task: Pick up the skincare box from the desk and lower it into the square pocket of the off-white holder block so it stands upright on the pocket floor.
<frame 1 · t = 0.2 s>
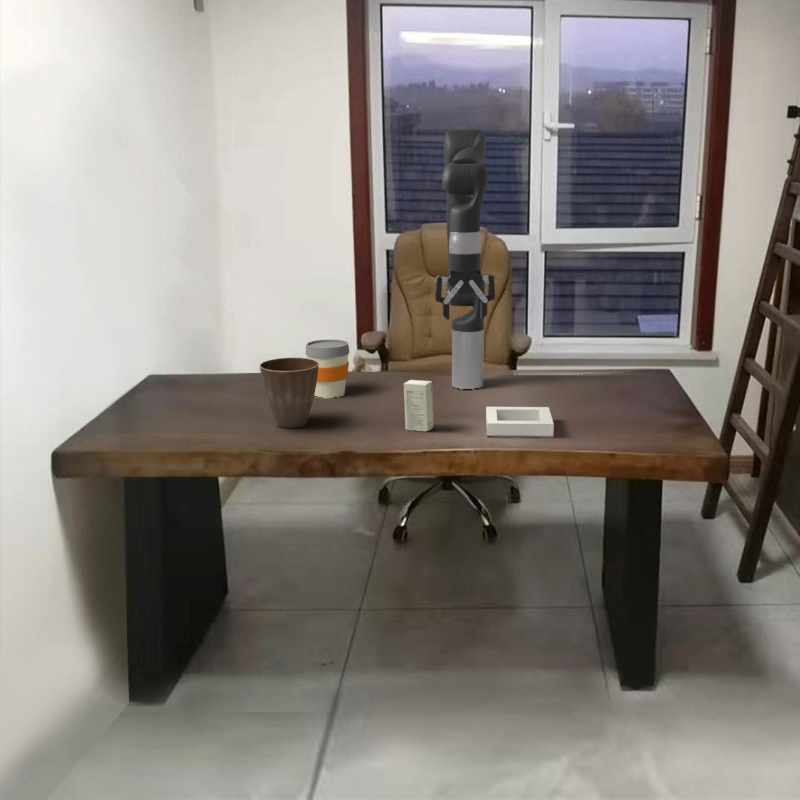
hand: (464, 318, 218), 28 cm above the table, tool pointing down, fingers open, 8 cm apart
reusable coffee cup: (329, 395, 262), on the table
holder: (518, 428, 227), on the table
plant pot: (292, 424, 233), on the table
skincare box: (419, 429, 228), on the table
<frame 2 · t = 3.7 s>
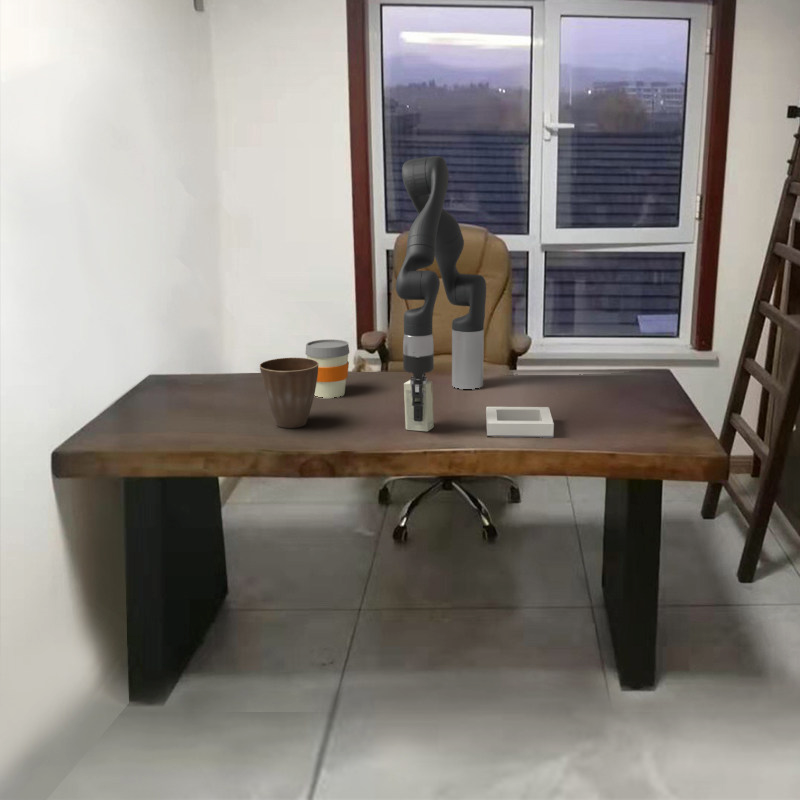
hand: (418, 417, 227), 3 cm above the table, tool pointing down, fingers closed on skincare box, 5 cm apart
skincare box: (419, 429, 228), on the table, touching gripper
everything else where it was.
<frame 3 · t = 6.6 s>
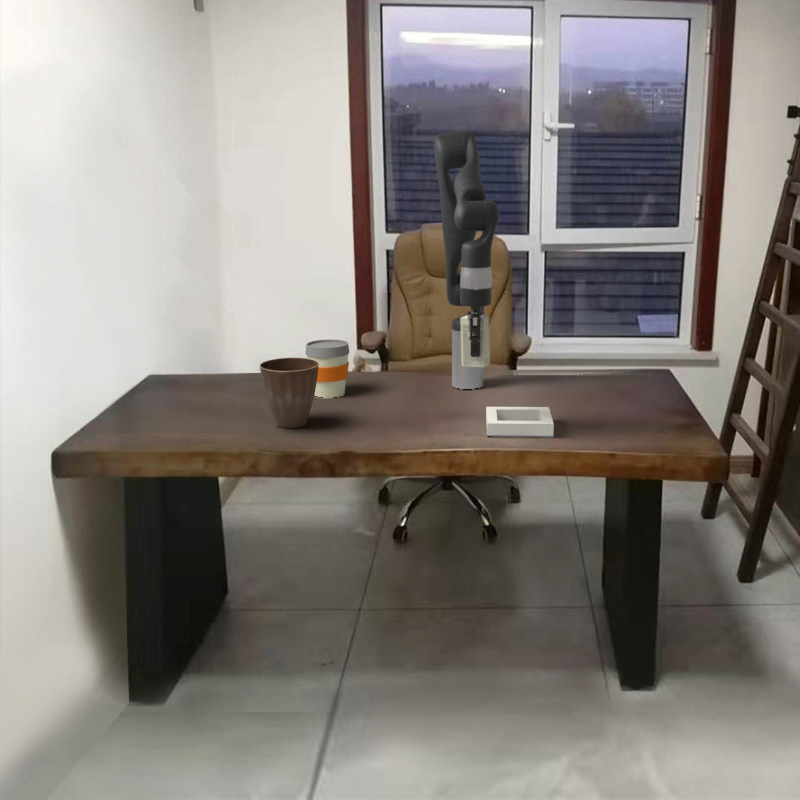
hand: (475, 353, 222), 19 cm above the table, tool pointing down, fingers closed on skincare box, 5 cm apart
skincare box: (475, 366, 223), point 16 cm above the table, touching gripper
everything else where it was.
when the fingers open (5 cm above the table, at t = 9.9 s): skincare box drops 1 cm, resting on holder.
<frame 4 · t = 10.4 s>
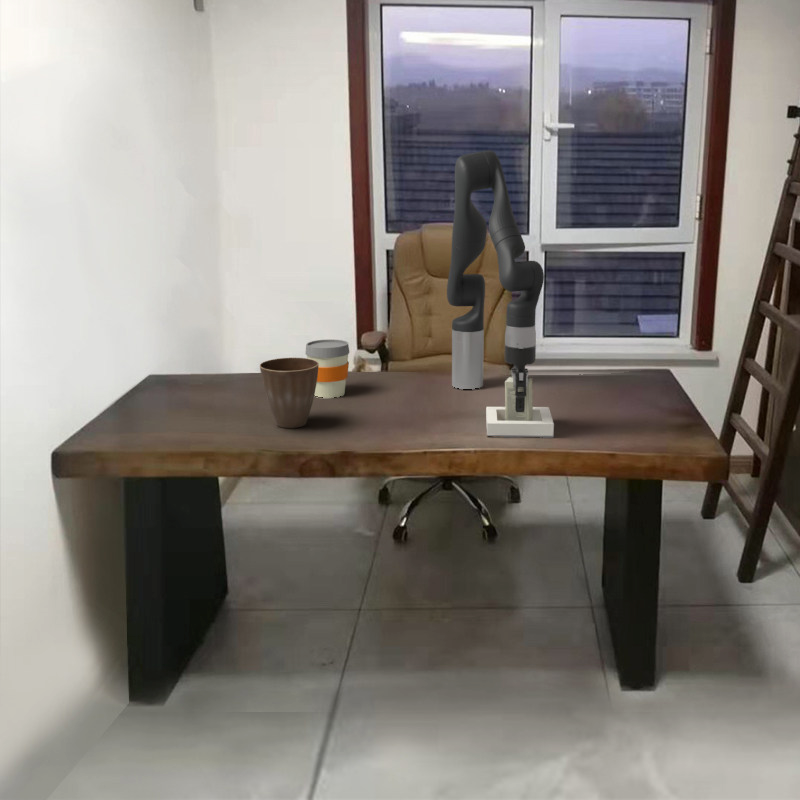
hand: (519, 406, 225), 6 cm above the table, tool pointing down, fingers open, 8 cm apart
skincare box: (518, 427, 227), resting on holder
everything else where it was.
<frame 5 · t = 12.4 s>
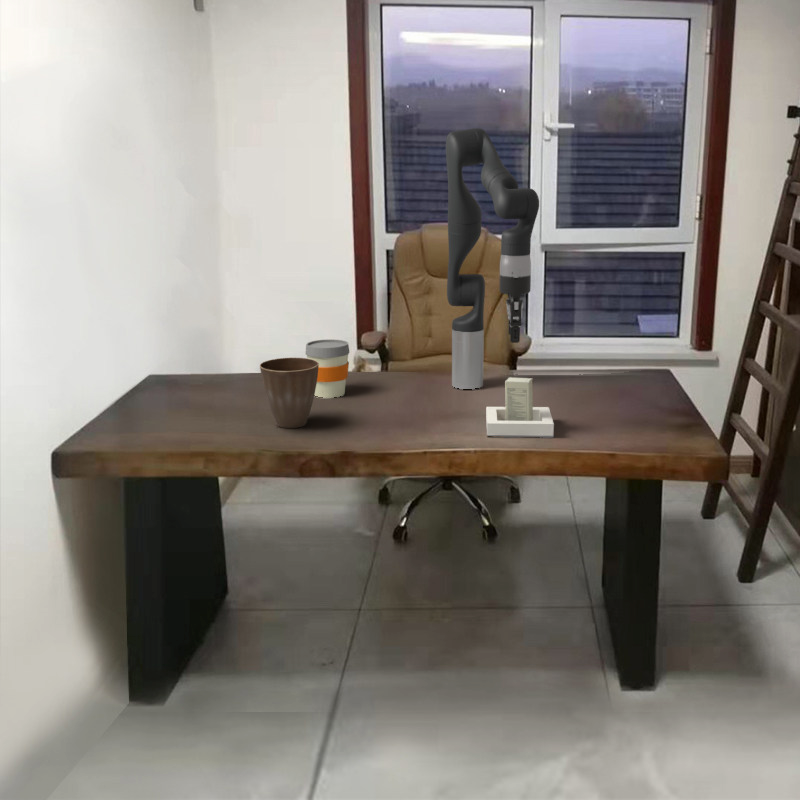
hand: (513, 338, 223), 23 cm above the table, tool pointing down, fingers open, 8 cm apart
nothing on the table moved.
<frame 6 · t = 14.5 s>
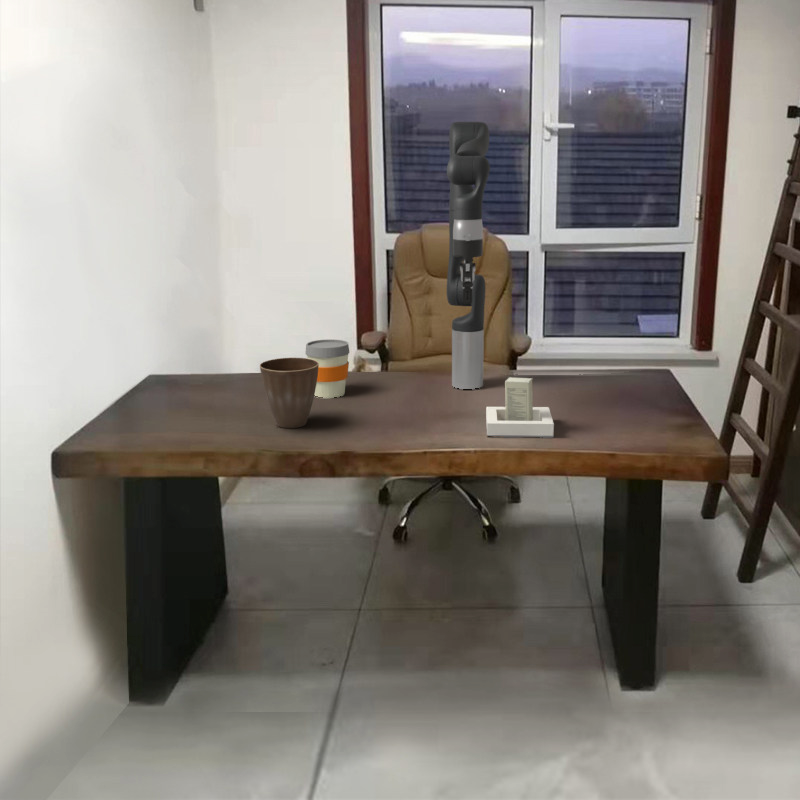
hand: (467, 300, 233), 30 cm above the table, tool pointing down, fingers open, 8 cm apart
nothing on the table moved.
at the end: skincare box inside the target area on the holder (0.0 cm from its centre), point 0.3 cm above the holder's base; skincare box tilted 0°; the gripper is holding nothing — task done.
